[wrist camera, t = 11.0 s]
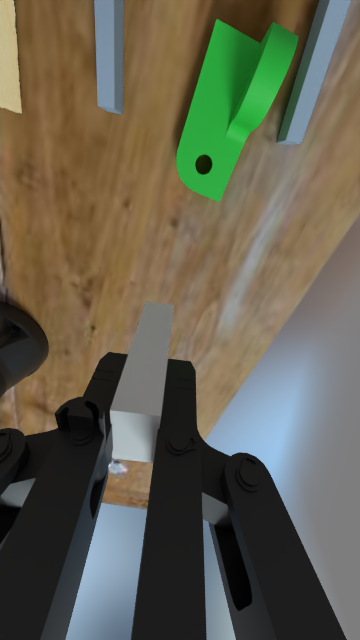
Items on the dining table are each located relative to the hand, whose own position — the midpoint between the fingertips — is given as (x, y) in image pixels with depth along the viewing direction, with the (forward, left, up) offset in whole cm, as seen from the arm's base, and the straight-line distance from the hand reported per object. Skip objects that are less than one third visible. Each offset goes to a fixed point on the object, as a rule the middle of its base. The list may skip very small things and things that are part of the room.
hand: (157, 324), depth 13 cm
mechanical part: (+2, +11, -21) cm, 24 cm away
